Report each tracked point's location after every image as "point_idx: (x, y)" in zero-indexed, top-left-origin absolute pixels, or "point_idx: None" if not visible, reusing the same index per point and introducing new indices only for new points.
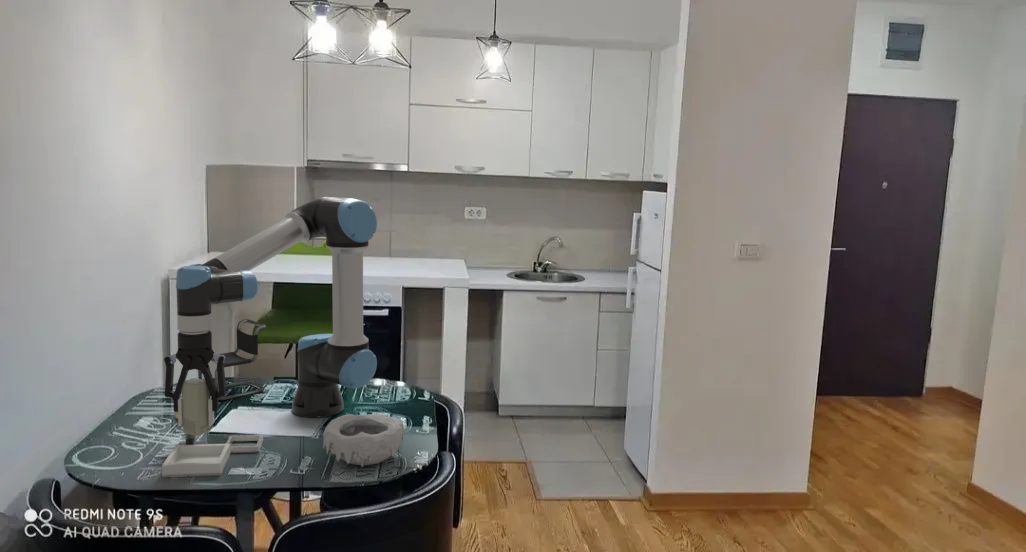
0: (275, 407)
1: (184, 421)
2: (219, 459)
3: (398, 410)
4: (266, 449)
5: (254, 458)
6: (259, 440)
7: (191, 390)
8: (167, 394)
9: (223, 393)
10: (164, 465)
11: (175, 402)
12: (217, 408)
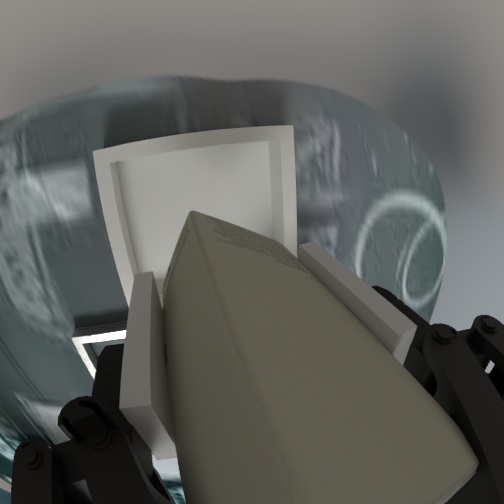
0: (175, 480)
1: (296, 262)
2: (108, 186)
3: (4, 461)
4: (68, 344)
5: (63, 287)
6: (93, 372)
7: (383, 438)
8: (492, 325)
9: (19, 459)
10: (285, 125)
11: (412, 321)
12: (98, 362)
